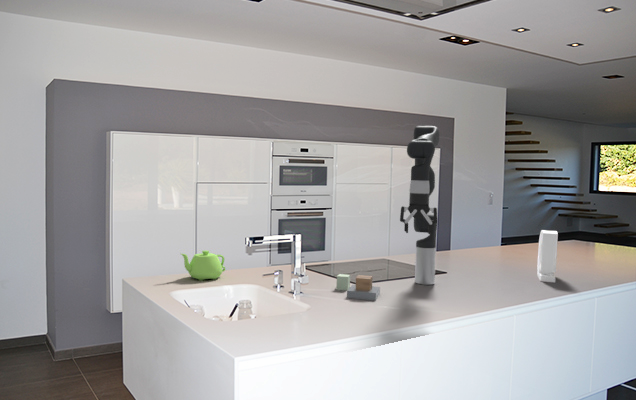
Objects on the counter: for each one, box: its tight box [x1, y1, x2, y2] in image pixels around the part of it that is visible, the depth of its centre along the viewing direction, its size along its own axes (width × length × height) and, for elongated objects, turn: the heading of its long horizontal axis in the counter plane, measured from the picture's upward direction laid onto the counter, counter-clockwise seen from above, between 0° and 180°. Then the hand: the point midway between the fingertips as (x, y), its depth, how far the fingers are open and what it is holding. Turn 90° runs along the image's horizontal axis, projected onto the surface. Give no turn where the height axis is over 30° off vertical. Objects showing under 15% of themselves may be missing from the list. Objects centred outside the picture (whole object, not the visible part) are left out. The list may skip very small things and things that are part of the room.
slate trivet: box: [346, 284, 381, 301], centre depth 221 cm, size 12×12×3 cm
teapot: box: [180, 249, 226, 281], centre depth 247 cm, size 22×15×13 cm
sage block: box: [335, 273, 351, 291], centre depth 233 cm, size 5×5×6 cm
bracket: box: [536, 229, 559, 283], centre depth 268 cm, size 7×21×25 cm, turn 162°
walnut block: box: [355, 274, 373, 291], centre depth 220 cm, size 6×6×5 cm
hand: (418, 233), depth 206 cm, fingers open, 8 cm apart
